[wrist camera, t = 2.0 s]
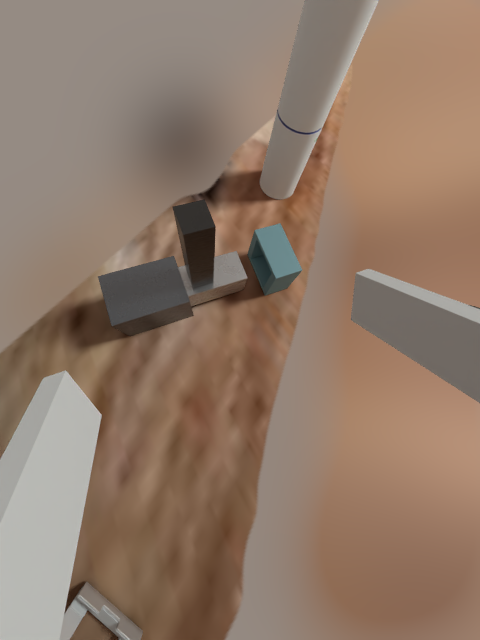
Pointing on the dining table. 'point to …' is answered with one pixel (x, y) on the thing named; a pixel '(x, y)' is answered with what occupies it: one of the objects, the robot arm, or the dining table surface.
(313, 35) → the cylindrical container
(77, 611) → the portable electronic device stand
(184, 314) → the matte charcoal box
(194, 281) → the gray bar with post
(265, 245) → the socket block
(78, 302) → the dining table surface
